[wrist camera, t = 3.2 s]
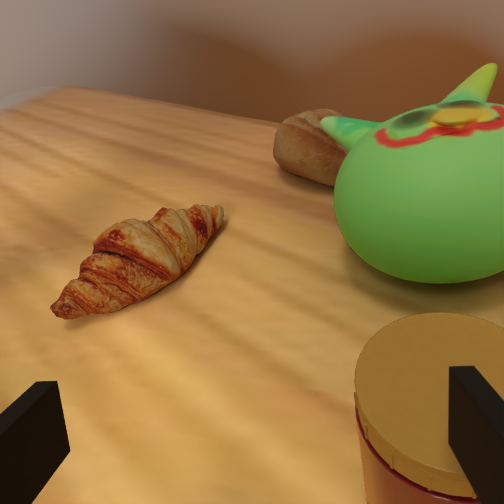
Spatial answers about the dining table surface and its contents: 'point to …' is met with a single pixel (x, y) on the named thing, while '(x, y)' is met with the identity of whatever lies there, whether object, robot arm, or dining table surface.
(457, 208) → the toy bird
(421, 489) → the jam jar
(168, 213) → the croissant
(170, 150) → the dining table surface
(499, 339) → the jam lid
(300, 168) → the bread roll
